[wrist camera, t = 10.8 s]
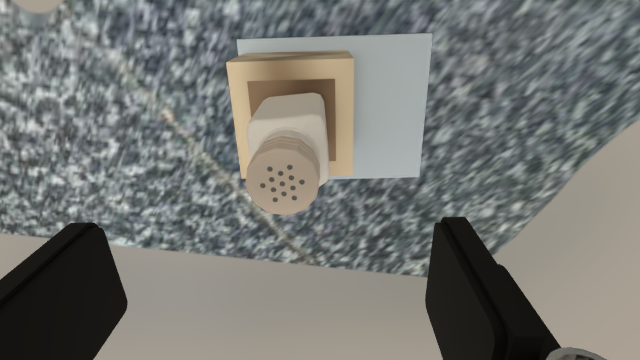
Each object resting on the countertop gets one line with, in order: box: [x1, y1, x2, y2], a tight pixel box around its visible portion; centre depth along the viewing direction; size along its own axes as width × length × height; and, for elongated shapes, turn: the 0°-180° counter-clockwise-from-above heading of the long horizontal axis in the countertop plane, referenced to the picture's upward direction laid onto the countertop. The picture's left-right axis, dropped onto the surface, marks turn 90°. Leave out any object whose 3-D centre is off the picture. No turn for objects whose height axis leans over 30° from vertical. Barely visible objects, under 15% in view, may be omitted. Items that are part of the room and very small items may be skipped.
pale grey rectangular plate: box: [237, 33, 433, 179], centre depth 30 cm, size 15×12×1 cm
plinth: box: [226, 50, 354, 179], centre depth 27 cm, size 8×8×6 cm
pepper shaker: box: [246, 93, 330, 216], centre depth 19 cm, size 4×4×10 cm
